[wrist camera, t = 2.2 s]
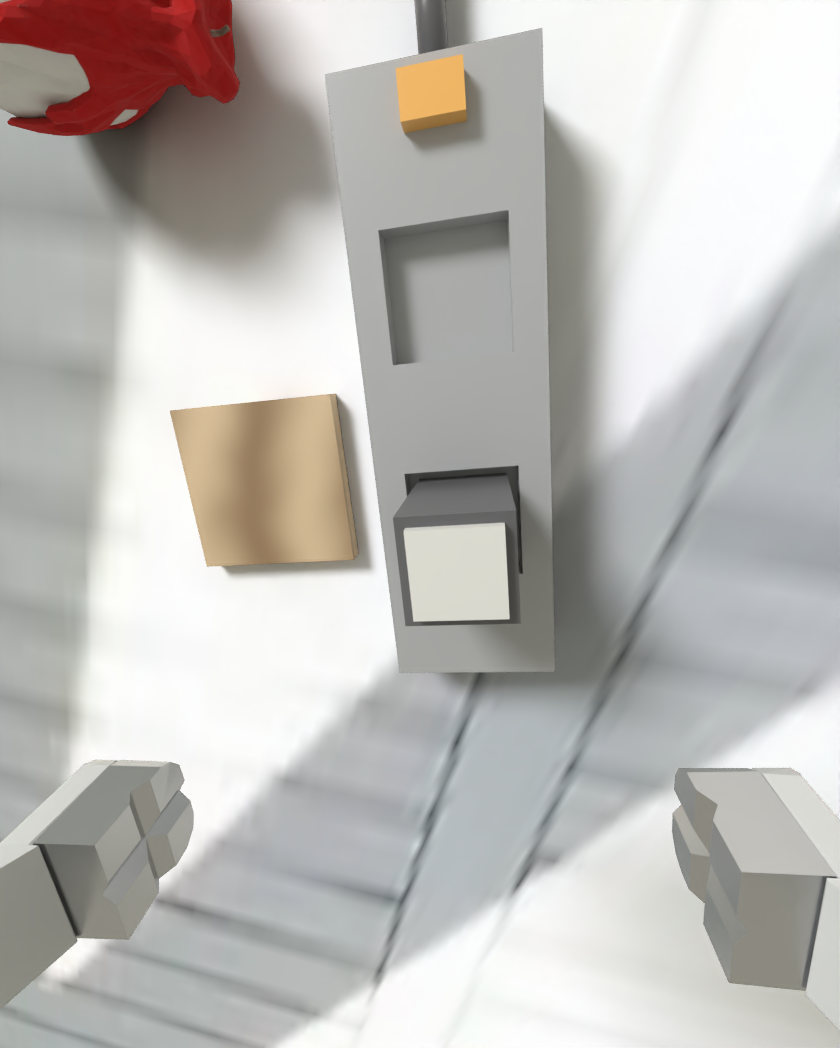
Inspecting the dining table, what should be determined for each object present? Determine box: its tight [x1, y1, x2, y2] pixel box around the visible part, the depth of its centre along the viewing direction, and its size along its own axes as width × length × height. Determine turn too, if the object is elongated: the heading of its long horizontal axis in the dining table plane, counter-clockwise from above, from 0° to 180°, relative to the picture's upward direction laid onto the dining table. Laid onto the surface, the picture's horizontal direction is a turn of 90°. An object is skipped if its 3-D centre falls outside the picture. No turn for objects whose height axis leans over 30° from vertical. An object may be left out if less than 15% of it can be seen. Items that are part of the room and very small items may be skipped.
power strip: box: [325, 0, 555, 673], centre depth 21 cm, size 8×32×4 cm, turn 5°
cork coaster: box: [170, 394, 358, 566], centre depth 26 cm, size 9×9×1 cm
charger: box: [393, 473, 521, 626], centre depth 19 cm, size 4×4×7 cm
